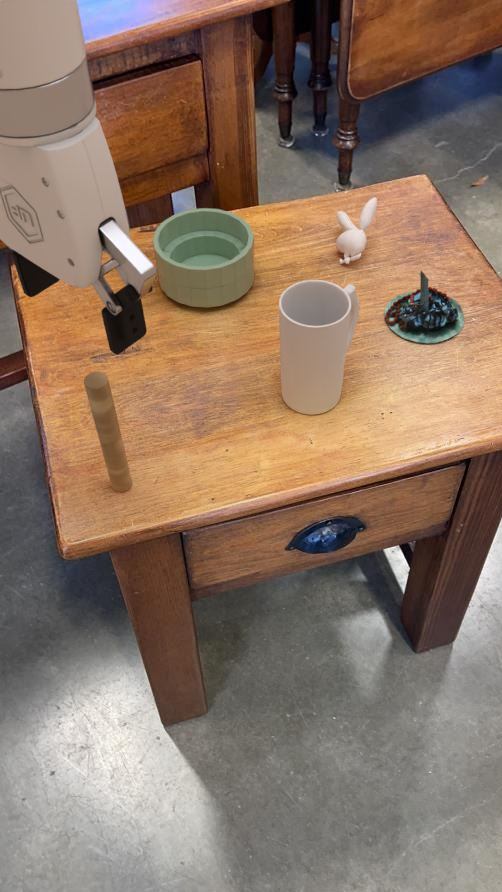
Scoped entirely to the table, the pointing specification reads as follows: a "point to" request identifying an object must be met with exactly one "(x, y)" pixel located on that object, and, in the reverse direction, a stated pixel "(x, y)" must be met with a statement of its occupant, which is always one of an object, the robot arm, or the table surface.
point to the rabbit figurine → (355, 232)
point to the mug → (315, 343)
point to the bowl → (204, 257)
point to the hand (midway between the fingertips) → (84, 314)
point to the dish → (424, 315)
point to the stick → (108, 430)
